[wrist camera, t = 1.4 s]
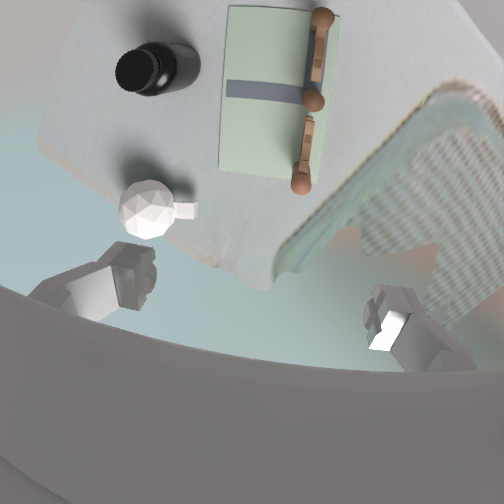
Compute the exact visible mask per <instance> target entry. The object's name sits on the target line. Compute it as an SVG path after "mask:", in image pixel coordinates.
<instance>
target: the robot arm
mask: <svg viewBox="0 0 504 504" xmlns="http://www.w3.org/2000/svg"><path fill="white" fill-rule="evenodd" d="M154 260H155V250H154V249H153V248H152V247H147V246H142V245H137V244H131V243H127V242H120V241H117V242H115V243H114V244H113V245H112V246H111V247H110V248H109V249H108V251H106V252H105V253H104V254H103V255H102V256H101V258H99V260H98V261H97V262H90V263H87V264H85V265H82V266H80V267H77V268H74V269H71V270H69V271H66V272H64V273H61V274H58V275H56V276H54V277H51V278H48V279H46V280H43V281H42V282H41V283H40V284H39V285H38V286H37V287H36V288H35V289H34V290H33V291H32V292H31V293H30V294H29V295H28V296H27V297H26V296H24V295H22V294H19V293H17V292H14V291H12V290H9V289H7V288H5V287H3V286H1V285H0V504H504V368H497V369H486V370H478V367H477V365H476V363H475V360H474V358H473V356H472V354H471V351H470V350H469V349H468V348H467V347H466V346H465V345H463V344H462V343H461V342H460V341H459V340H458V339H457V338H455V337H454V336H453V335H452V334H451V333H450V332H448V331H447V330H446V329H445V328H444V327H443V326H441V325H440V324H439V323H438V322H437V321H435V320H434V319H433V318H432V317H431V316H429V315H426V314H425V312H424V310H423V307H422V305H421V303H420V301H419V299H418V297H417V295H416V293H415V291H414V289H413V288H411V287H401V286H391V285H383V284H376V285H375V286H374V288H373V290H372V296H373V298H372V299H371V300H370V301H368V302H367V304H366V307H365V310H364V316H363V318H364V319H363V320H364V326H365V327H366V328H367V329H368V330H369V331H368V333H367V339H368V344H369V348H371V349H381V350H390V353H391V354H392V355H393V357H394V358H395V359H396V360H397V361H398V363H399V364H400V365H401V367H402V368H403V369H404V371H405V372H381V371H380V372H379V371H360V370H345V369H333V368H322V367H312V366H303V365H295V364H286V363H279V362H272V361H265V360H258V359H251V358H246V357H239V356H234V355H229V354H223V353H218V352H213V351H208V350H203V349H198V348H193V347H189V346H184V345H180V344H175V343H172V342H167V341H163V340H159V339H155V338H151V337H147V336H144V335H140V334H136V333H133V332H129V331H126V330H122V329H119V328H115V327H112V326H108V325H105V324H102V323H99V322H97V321H99V320H101V319H102V318H104V317H105V316H107V315H109V314H110V313H112V312H113V311H115V310H116V309H118V308H119V307H124V308H128V309H132V310H137V311H140V310H141V308H142V306H143V305H144V303H145V302H146V300H147V298H146V294H148V293H150V292H152V290H153V288H154V286H155V283H156V278H157V270H156V267H155V266H154V264H153V263H152V262H153V261H154Z"/></svg>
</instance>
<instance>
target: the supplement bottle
mask: <svg viewBox="0 0 504 504" xmlns="http://www.w3.org/2000/svg"><path fill="white" fill-rule="evenodd" d="M200 68H201V63H200V58H199V56H198V54H197V53H196V51H195V50H193V49H192V48H191V47H189V46H186V45H182V44H175V43H167V42H148V43H145V44H142V45H140V46H139V47H137V48H136V49H135V50H131V51H128V52H127V53H125V54H124V55H123V56H122V57H121V59H119V62H118V63H117V66H116V70H115V73H116V74H115V76H116V80H117V83H118V84H119V86H121V88H122V89H124V90H127V91H128V92H130V91H131V92H135V93H137V94H139V95H142V96H157V95H161V94H165V93H168V92H173V91H177V90H181V89H184V88H186V87H188V86H190V85H191V84H192V83H193V82H194V81H195V80H196V78H197V77H198V75H199V72H200Z"/></svg>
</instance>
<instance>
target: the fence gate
mask: <svg viewBox="0 0 504 504" xmlns="http://www.w3.org/2000/svg"><path fill="white" fill-rule="evenodd" d="M314 126H315V121H313V116H307V115H305V121H304V129H303V136H302V143H301V150H300V157H299V161H298V162H296V163H295V164H294V165H293V168H292V178H291V189H292V191H293V192H294V193H295V194H298V195H305V194H307V193H308V192H309V191H310V190H311V174H310V166H309V159H310V153H311V146H312V140H313V133H314Z"/></svg>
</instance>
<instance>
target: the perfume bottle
mask: <svg viewBox="0 0 504 504" xmlns="http://www.w3.org/2000/svg"><path fill="white" fill-rule="evenodd" d="M118 217H119V218H120V220H121V222H122V224H123V225H124V227H125V229H126V230H127V232H128V233H130V234H132V235H135V236H137V237H140V238H142V239H144V240H145V239H149V238H153V237H157V236H161V235H163V234H164V233H165V232H166V230H167V229H168V228H169V227H170V225H171V224H172V223H173V222H174V220H175V218H178V219H195V218H196V217H197V201H175V199H174V197H173V195H172V193H171V192H170V190H169V189H168V188H167V187H166V186H165V185H164V184H162V183H161V182H159V181H155V180H151V179H150V180H145V181H140V182H136V183H133V184H132V185H131V186H130V187H129V188H128V189H127V190H126V191H125V193H124V194H123V195H122V196H121V197H120V204H119V214H118Z"/></svg>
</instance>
